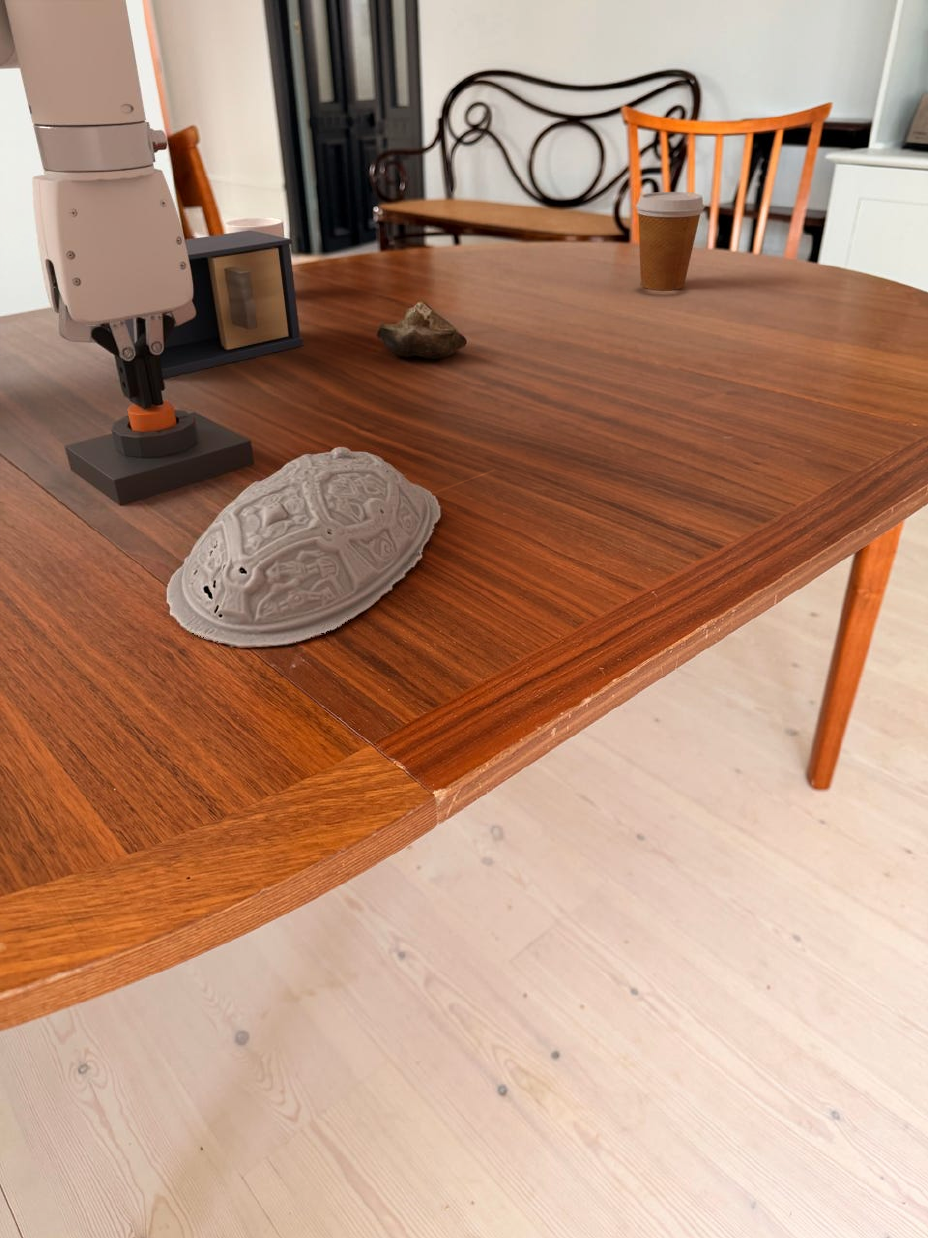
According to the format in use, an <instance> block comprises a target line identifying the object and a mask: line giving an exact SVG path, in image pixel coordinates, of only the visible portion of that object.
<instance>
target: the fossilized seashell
mask: <svg viewBox="0 0 928 1238" xmlns="http://www.w3.org/2000/svg"><path fill="white" fill-rule="evenodd" d="M378 327H379V328H378V330H377V333H376V337H377V338H378V339H379V340H381V341H382V343H383V345H384V346H385V347H386V349H387V350H389V351H390V352H391V353H393V354H394V355H395V356H400V357H407V358H408V357H413V356H418V357H422V358H425V359H426V358H427V359H429V360H430V359H433V360H437V359H439V360H440V359H441V358H447V357H450V356H452V355H454V353H456V352H458V351H459V350H461V349H463V348H464V347H466V345H467V344H468V340H467V338H466V337H465V336H464V334H462V333H461V331H460V330H458V329H457V328H456V327H455V326H454V324H453V325H452V323H450V322H449V321H448V320H446V318H444V317H443V316H441V315H440V314H438V313H437V312H435V310H434V309H433V308H432V307H431V306H430V305H429V304H428V303H427V302H426V301H423V300H422V301H418V302H417V303H416V304H415V305H413V307H409V308H407V309H406V311H405V316H404V318H403V319H401V320H400V321H397V322H396V323H383V322H380V323H379V324H378Z"/></svg>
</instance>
